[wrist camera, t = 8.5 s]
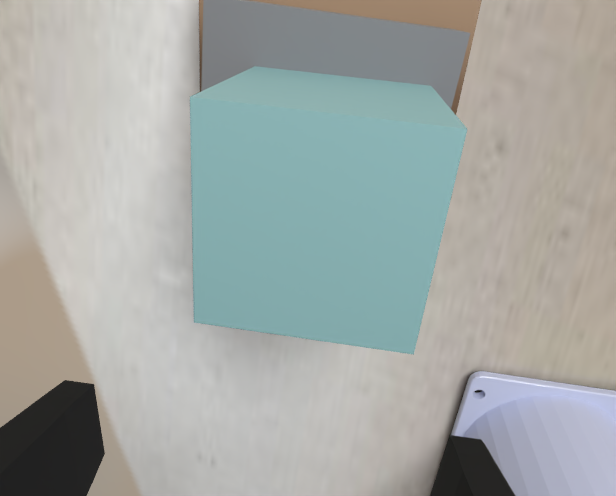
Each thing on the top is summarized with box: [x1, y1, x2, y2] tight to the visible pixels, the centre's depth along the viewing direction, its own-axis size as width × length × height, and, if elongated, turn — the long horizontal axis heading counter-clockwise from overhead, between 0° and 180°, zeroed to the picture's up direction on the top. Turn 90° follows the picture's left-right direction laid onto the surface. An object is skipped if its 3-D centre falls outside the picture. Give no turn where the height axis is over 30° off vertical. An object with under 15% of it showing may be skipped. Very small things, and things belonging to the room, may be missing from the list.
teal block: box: [190, 66, 467, 354], centre depth 11 cm, size 4×4×5 cm
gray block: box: [201, 0, 470, 109], centre depth 14 cm, size 6×6×2 cm
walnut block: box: [199, 0, 482, 115], centre depth 16 cm, size 8×8×2 cm
